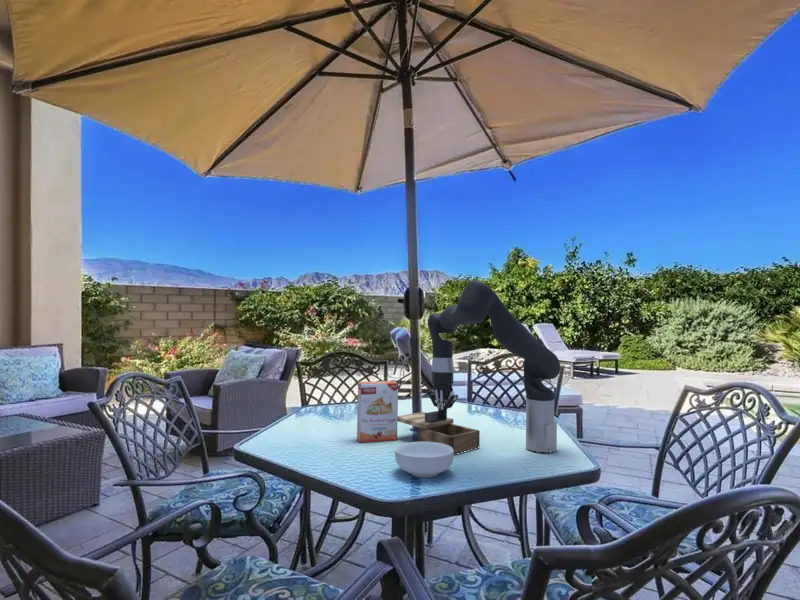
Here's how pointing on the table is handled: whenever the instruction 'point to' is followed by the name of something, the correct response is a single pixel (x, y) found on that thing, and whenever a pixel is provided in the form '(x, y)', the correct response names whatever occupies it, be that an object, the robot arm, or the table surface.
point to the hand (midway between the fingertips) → (442, 419)
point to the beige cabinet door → (424, 420)
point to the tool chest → (451, 437)
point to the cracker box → (377, 411)
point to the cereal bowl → (424, 458)
